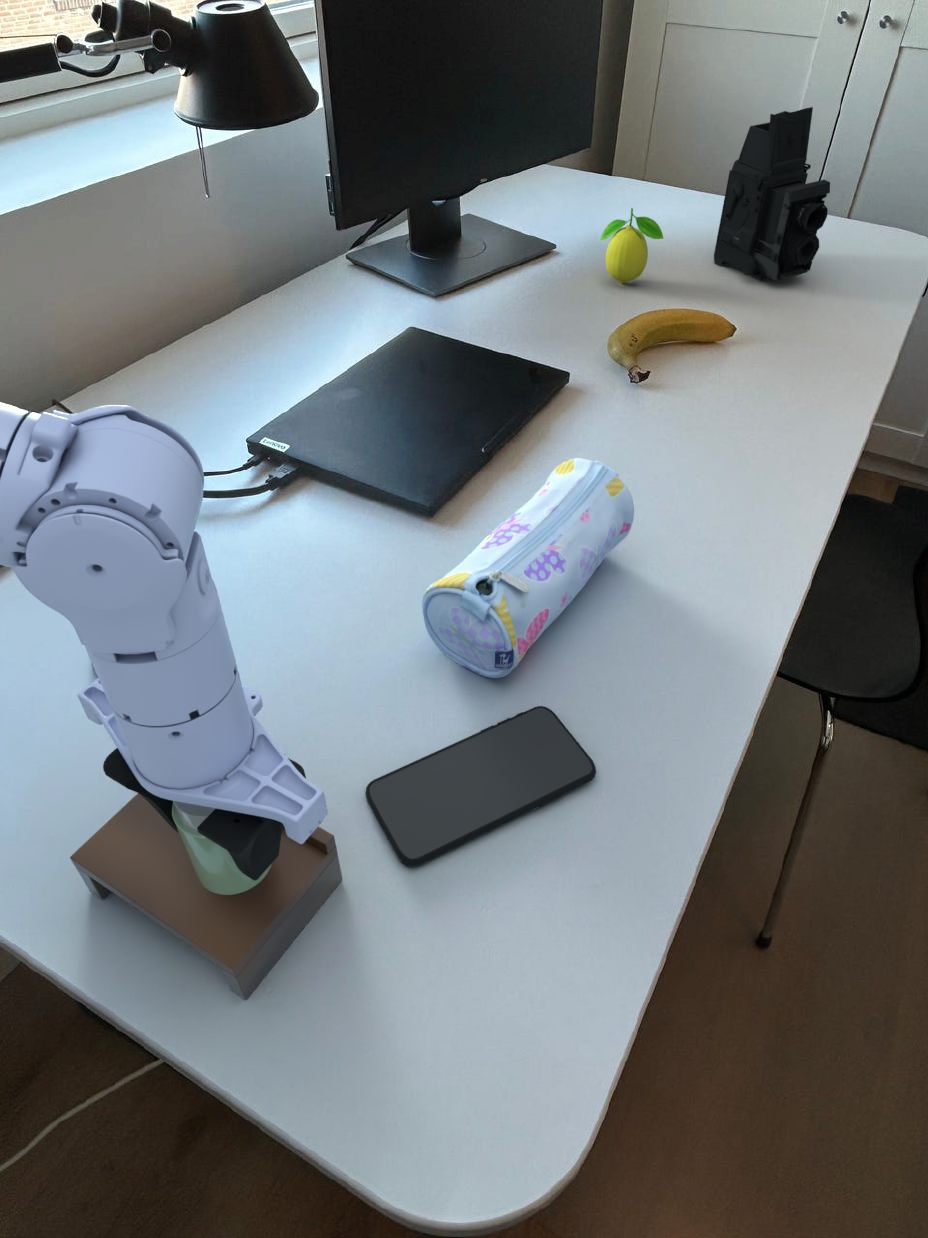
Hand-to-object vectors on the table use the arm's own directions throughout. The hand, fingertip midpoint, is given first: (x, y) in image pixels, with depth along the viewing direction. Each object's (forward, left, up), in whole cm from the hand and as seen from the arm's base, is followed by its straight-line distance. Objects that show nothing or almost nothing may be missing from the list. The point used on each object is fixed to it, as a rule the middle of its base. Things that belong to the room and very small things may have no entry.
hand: (229, 844), depth 49 cm
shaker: (0, 0, -2) cm, 2 cm away
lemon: (+18, +97, -7) cm, 99 cm away
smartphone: (+12, +11, -7) cm, 18 cm away
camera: (+37, +104, -8) cm, 111 cm away
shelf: (-3, +1, -7) cm, 8 cm away
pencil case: (+13, +30, -7) cm, 34 cm away
